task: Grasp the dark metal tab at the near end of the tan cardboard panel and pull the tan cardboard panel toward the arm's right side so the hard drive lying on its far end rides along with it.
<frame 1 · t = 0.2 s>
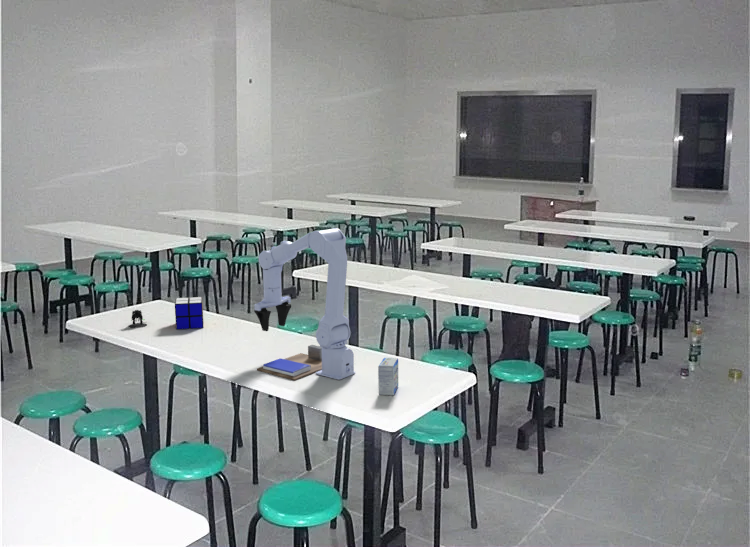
hand: (273, 328, 231), 10 cm above the table, tool pointing down, fingers open, 7 cm apart
puzzle cube: (190, 326, 272), on the table
medicine box: (388, 391, 203), on the table
hard drive: (287, 370, 219), resting on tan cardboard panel
toy robot: (137, 326, 272), on the table
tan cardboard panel: (297, 359, 223), point 2 cm above the table, slide at 0.1 cm, touching hard drive
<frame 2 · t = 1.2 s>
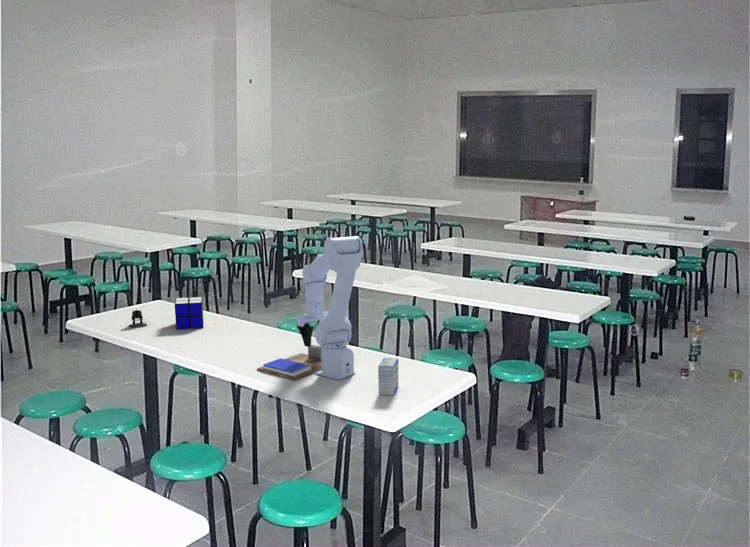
hand: (315, 343, 229), 6 cm above the table, tool pointing down, fingers open, 7 cm apart
nothing on the table moved.
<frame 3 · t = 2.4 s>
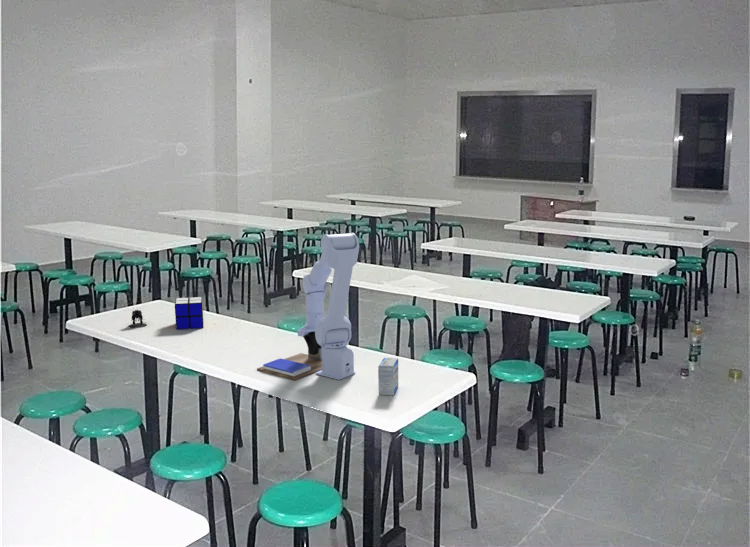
hand: (315, 353, 229), 2 cm above the table, tool pointing down, fingers closed
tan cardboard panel: (298, 359, 223), point 2 cm above the table, slide at 0.1 cm, touching gripper, hard drive
everything else where it was.
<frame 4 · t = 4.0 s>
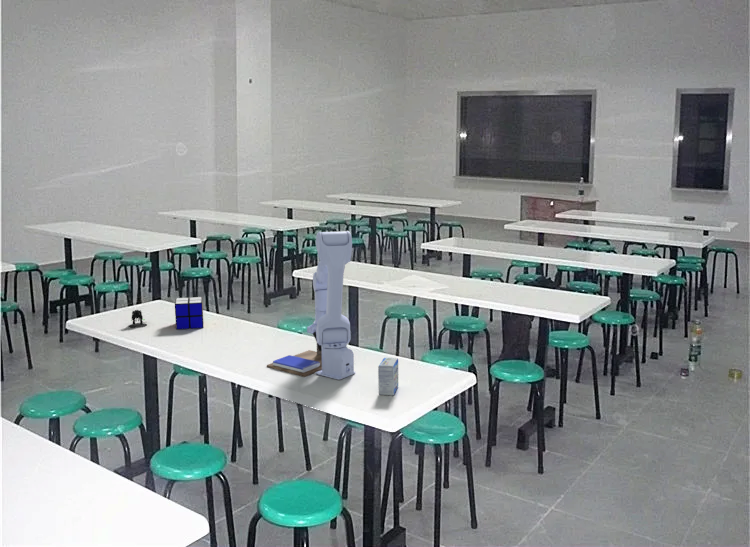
hand: (324, 350, 233), 2 cm above the table, tool pointing down, fingers closed on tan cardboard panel, 2 cm apart
hard drive: (296, 366, 223), resting on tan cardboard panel
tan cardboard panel: (307, 356, 226), point 2 cm above the table, slide at 4.3 cm, touching gripper, hard drive
everything else where it was.
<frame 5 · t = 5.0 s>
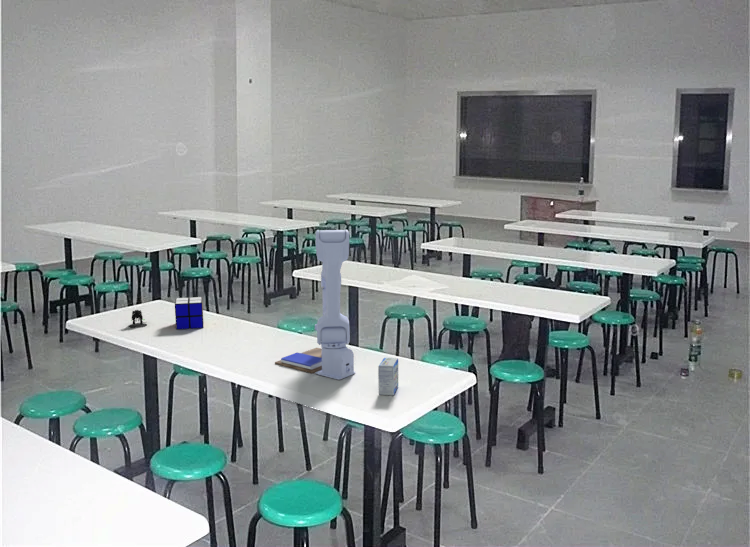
hand: (331, 347, 236), 2 cm above the table, tool pointing down, fingers closed on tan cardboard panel, 2 cm apart
hard drive: (304, 363, 226), resting on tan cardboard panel
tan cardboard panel: (314, 353, 229), point 2 cm above the table, slide at 8.0 cm, touching gripper, hard drive
everything else where it was.
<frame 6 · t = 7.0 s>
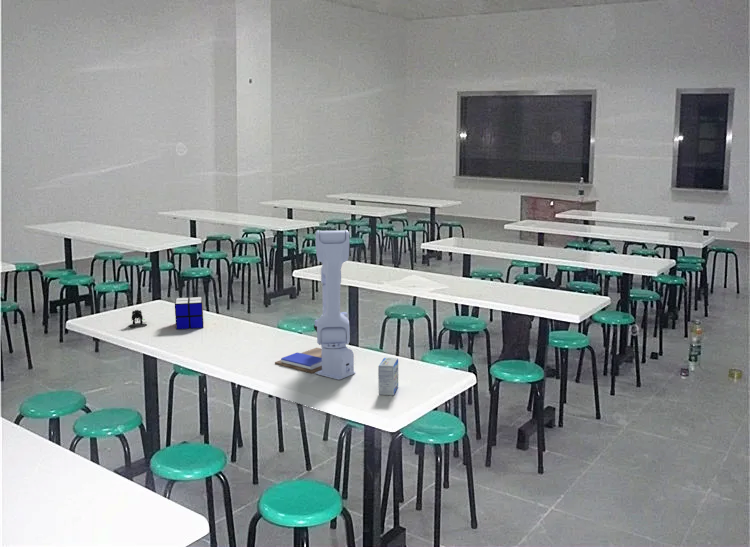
hand: (331, 343, 235), 4 cm above the table, tool pointing down, fingers open, 7 cm apart
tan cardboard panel: (314, 353, 229), point 2 cm above the table, slide at 8.0 cm, touching hard drive
everything else where it was.
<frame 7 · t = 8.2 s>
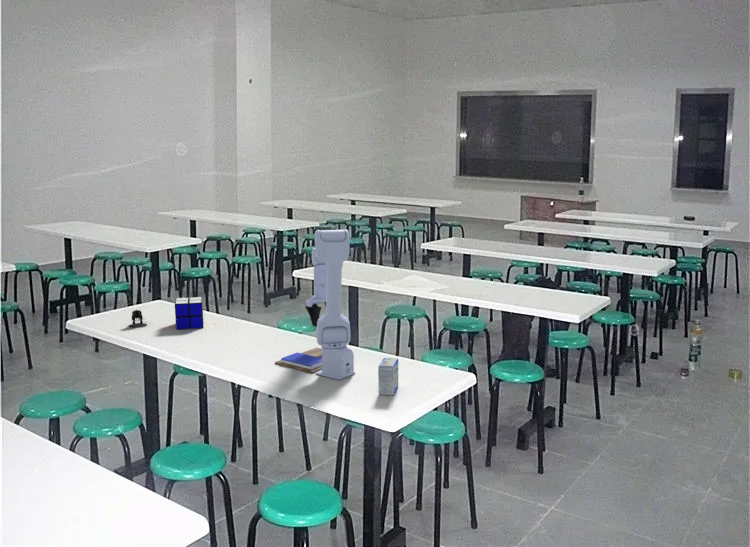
hand: (323, 323, 239), 9 cm above the table, tool pointing down, fingers open, 7 cm apart
nothing on the table moved.
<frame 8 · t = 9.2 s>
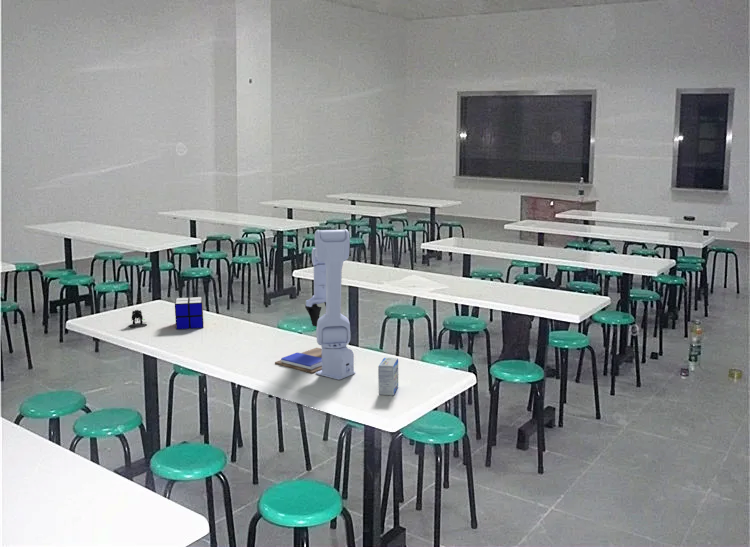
hand: (323, 323, 239), 9 cm above the table, tool pointing down, fingers open, 7 cm apart
nothing on the table moved.
at the end: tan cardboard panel slide at 8.0 cm; hard drive inside the target area (0.0 cm from its centre), resting on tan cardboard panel; hard drive touching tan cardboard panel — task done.
